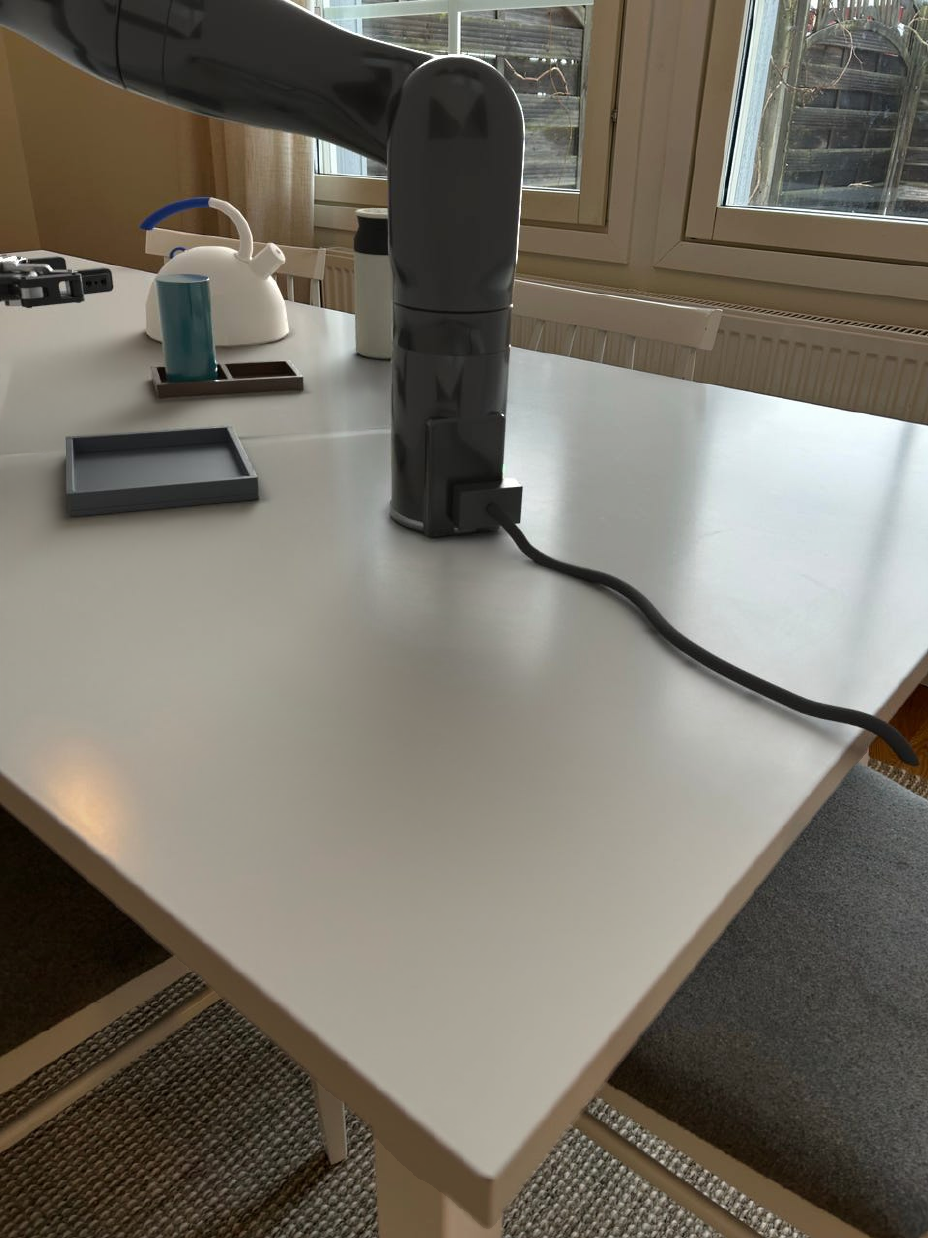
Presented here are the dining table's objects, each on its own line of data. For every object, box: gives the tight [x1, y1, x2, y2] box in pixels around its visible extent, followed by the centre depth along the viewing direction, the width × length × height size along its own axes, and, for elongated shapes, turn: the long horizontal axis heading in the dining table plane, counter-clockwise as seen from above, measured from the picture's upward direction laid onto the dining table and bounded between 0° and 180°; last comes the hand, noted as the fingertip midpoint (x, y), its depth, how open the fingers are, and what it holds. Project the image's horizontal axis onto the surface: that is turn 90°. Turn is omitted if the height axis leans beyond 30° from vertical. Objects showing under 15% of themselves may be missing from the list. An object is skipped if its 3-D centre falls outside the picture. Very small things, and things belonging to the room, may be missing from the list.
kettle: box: [139, 196, 290, 347], centre depth 133 cm, size 20×21×18 cm
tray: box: [65, 424, 260, 518], centre depth 85 cm, size 15×15×2 cm
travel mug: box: [353, 207, 392, 360], centre depth 126 cm, size 8×8×18 cm
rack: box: [150, 359, 305, 399], centre depth 112 cm, size 8×16×2 cm, turn 110°
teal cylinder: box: [154, 274, 218, 383], centre depth 108 cm, size 6×6×12 cm
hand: (87, 273), depth 97 cm, fingers open, 8 cm apart
